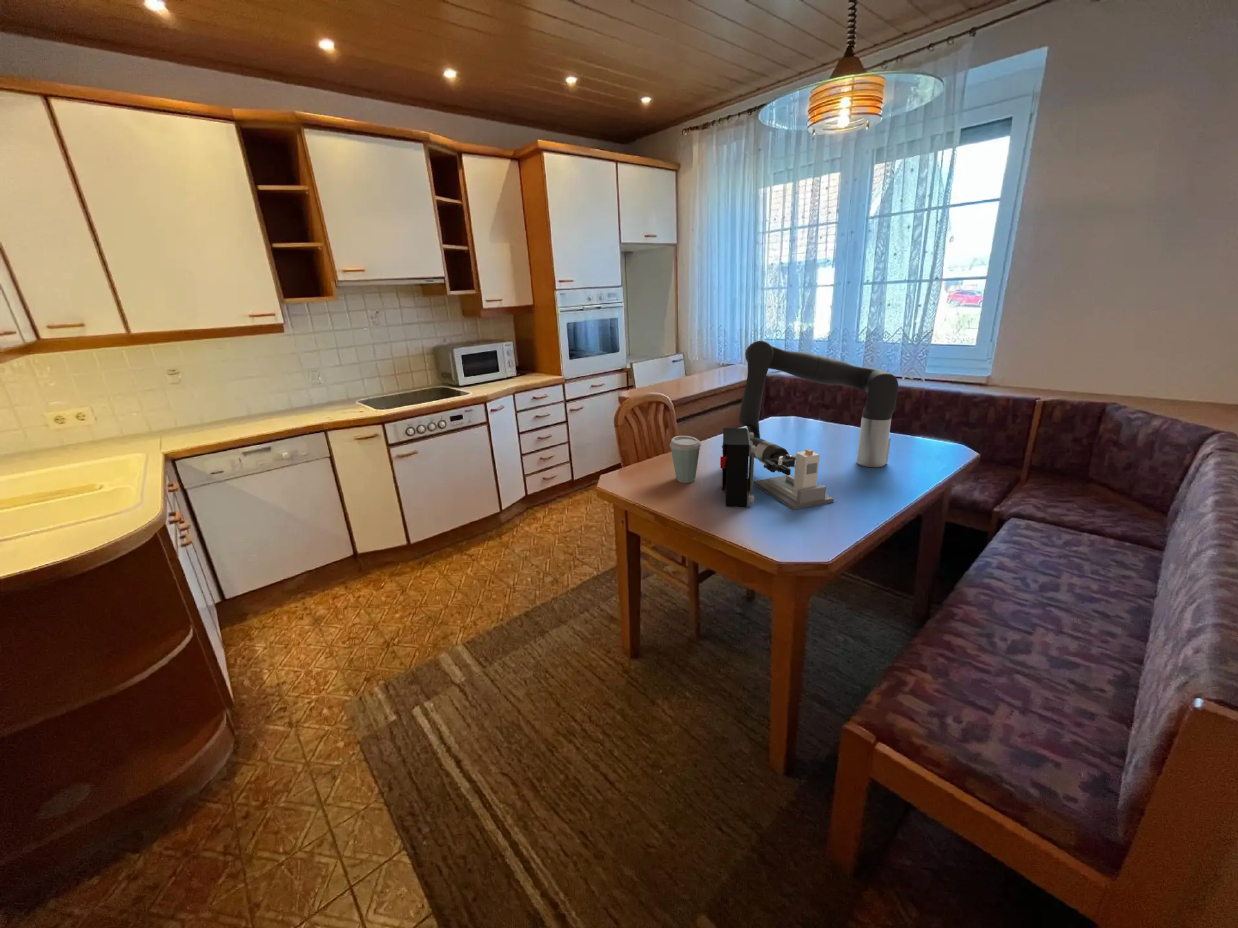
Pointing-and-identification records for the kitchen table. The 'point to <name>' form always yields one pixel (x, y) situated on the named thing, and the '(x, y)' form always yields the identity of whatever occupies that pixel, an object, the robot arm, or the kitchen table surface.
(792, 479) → the panel
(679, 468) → the disposable coffee cup
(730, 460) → the electrical component
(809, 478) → the block
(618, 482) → the kitchen table surface
